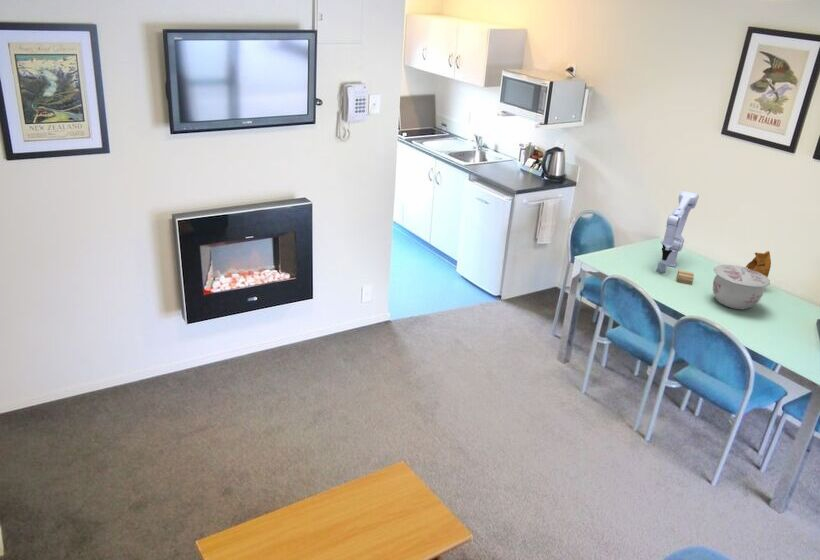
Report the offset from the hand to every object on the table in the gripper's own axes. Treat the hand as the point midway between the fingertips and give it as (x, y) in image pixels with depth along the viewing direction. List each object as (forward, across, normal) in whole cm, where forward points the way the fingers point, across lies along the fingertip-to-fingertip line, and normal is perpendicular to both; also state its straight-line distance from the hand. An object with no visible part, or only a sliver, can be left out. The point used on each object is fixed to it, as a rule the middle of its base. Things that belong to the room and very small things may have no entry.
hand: (664, 257), depth 385 cm
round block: (+9, 0, 0) cm, 9 cm away
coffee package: (+9, -4, +49) cm, 50 cm away
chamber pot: (+9, +25, +38) cm, 46 cm away
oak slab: (+7, +7, +13) cm, 16 cm away
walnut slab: (+9, +7, +13) cm, 17 cm away
